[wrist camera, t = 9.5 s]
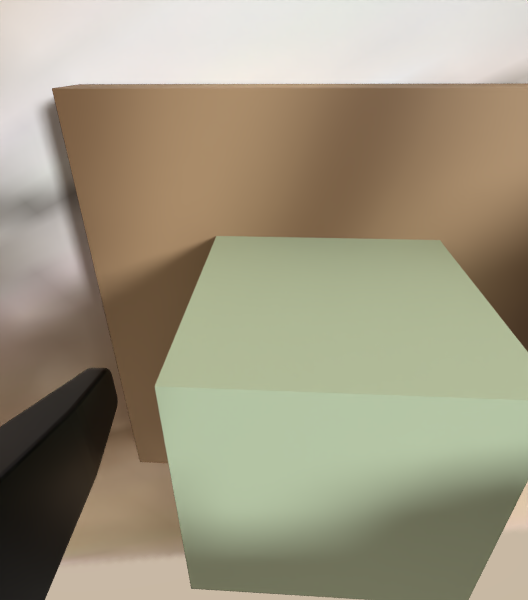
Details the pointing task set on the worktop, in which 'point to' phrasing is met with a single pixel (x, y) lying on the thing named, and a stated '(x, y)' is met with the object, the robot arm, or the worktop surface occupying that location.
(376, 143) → the walnut board
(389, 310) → the sage cube
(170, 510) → the worktop surface
